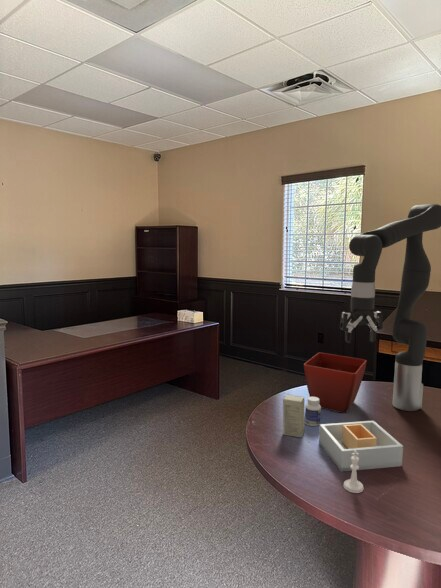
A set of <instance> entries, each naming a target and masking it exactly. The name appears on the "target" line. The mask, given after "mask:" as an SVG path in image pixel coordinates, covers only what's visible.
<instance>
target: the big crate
mask: <svg viewBox="0 0 441 588" xmlns="http://www.w3.org/2000/svg"><path fill="white" fill-rule="evenodd" d="M353 424H362V425H363V426H364V427H365V428H366V429H367V430H369V431H370V432H371V433H372V434H373V435H374V436H375V437H376V438H377V444H376V447H364V448H352V449H346V448H345V446H344V445H343V444H342V435H343V425H353ZM318 429H319V432H318V433H319V434H318V443H319V444H320V446H321V447H322V448H323V450H324V451H325V452H326V453H327V455H328V456H329V457H330V459H331V460H332V461H333V463H334V464H335V465H336V466H337V468H338V469H339V471H340V472H343V473H344V472H352V468H350V465H352V461H351V457H352V453H354V451H357V453H359V455H356V457H358V458H359V461H358V464H357V465H358V467H359V469H357V470H356V471H362V470H363V471H364V470H373V469H384V468H394V467H395V468H396V467H402V466H403V454H404V446H403V444H402V443H400V442H399V441H398V440H397V439H396V438H395V437H394V436H392V435H391V434H390V433H389V432H388V431H386V430H385V428H383V427H382V426H381V425H379V424H378V423H377V422H376V421H375V420H363V421H350V422H337V423H336V422H335V423H320V425H319V428H318ZM353 456H354V455H353Z"/></svg>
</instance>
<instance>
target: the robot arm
mask: <svg viewBox="0 0 441 588" xmlns="http://www.w3.org/2000/svg"><path fill="white" fill-rule="evenodd" d="M440 228H441V205H440V204H438V203H428V204H427V203H426V204H425V203H424V204H416V205H413V206H412V207H411V208H410V209H409V211H408V215H407V218H405V219H402V220H397V221H393V222H389V223H387V224H385V225H383V226H380V227H379V228H376V229H373V230H369V231H365V232H362V233H359V234H355V236H353V237H352V238H351V240H350V242H349V243H348V244H349V245H348V248H349V251H350V253H351V254H352V255H354V256H357V257H363V258H362V261H361V262H359V263H357V264H355V265H353V269H352V285H351V290H350V311H349V312H345V311H342V312H341V314H340V321H339V329H340V330H341V331H343V332H345V333H344V341H345V342H346V343H348V344H351V343H352V331H353V329H355V328H356V327H357V326H368V327H369V328H370V331H369V342H371V343H375V341H376V340H377V332H378V331H379V330H383V324H384V323H383V320H384V319H383V318H384V317H383V316H384V314H383V312H382V311H379V310H376V311H374V309H375V300H376V297H375V296H376V269H377V267H378V264H379V261H380V258H381V255H382V251H383V249H386V248H388V247H390V246H392V245H395V244H397V243H399V242H401V241H403V240H405V239H406V242H405V243H406V244H405V252H404V253H405V254H404V261H403V262H404V263H403V269H402V275H401V281H400V282H401V283H400V291H399V297H398V303H397V308H396V311H395V315H394V319H393V324H392V329H391V330H392V331H391V332H392V338H393V340H394V341H395V342H397V343H401V344H405V345H408V347H407V348H408V349H407V351H406V350H405V351H399V352H397V353H396V354H395V359H394V360H395V362H394V376H393V389H392V390H393V391H392V392H393V393H392V406H393V407H394V408H396V409H398V410H401V411H407V412H414V411H415V412H416V411H418V410H420V409H422V408H423V407H422V406H423V405H422V404H423V394H424V393H423V392H424V383H422V377H423V376H422V375H423V374H422V373H423V362H424V357H425V354H426V348H427V342H428V341H427V340H428V327H427V325H426V323H424V322H423V321H419V320H413V319H411V315H412V310H413V308H414V306H415V304H416V302H417V301H418V300H420V298H421V297H422V296H423V294H424V293H425V292H426V291H427V289H428V287H429V283H430V278H431V272H432V265H431V262H430V260H429V257H428V256H427V253H426V251H425V248H424V244H423V234H424V233H425V232H428V231H433V230H434V231H435V230H438V229H440ZM349 318H350V319H349ZM374 318H375V322H374V321H373V319H374ZM348 319H349V321H348Z"/></svg>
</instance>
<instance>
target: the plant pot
mask: <svg viewBox="0 0 441 588" xmlns="http://www.w3.org/2000/svg"><path fill="white" fill-rule="evenodd" d="M367 362H368V361H367V359H363V358H358V357H352V356H345V355H340V354H339V355H338V354H334V353H333V354H331V353H328V352H327V353H325V352H317V353H316V354H315V355H313V356H312V357H311V358H309V359H308V360H307V361H306V362H304V363H303V369H304V370H303V371H304V377H305V383H306V387H307V392H308V395H309V396H308V397H317V398H319V405H320V406H321V409H324V410H329V411H334V412H338V413H343V414H346V413H348V411H349V409H350V408H351V407H352V405H353V404H354V403H355V400H356V398H357V395H358V393H359V390H360V387H361V385H362V382H363V377H364V375H365V371H366V366H367Z"/></svg>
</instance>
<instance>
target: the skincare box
mask: <svg viewBox="0 0 441 588" xmlns="http://www.w3.org/2000/svg"><path fill="white" fill-rule="evenodd" d="M304 433H305V396H298V395H293V394H285V396H284V397H283V398H282V435H285V436H290V437H295V438H296V437H297V438H302V437H303V435H304Z"/></svg>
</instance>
